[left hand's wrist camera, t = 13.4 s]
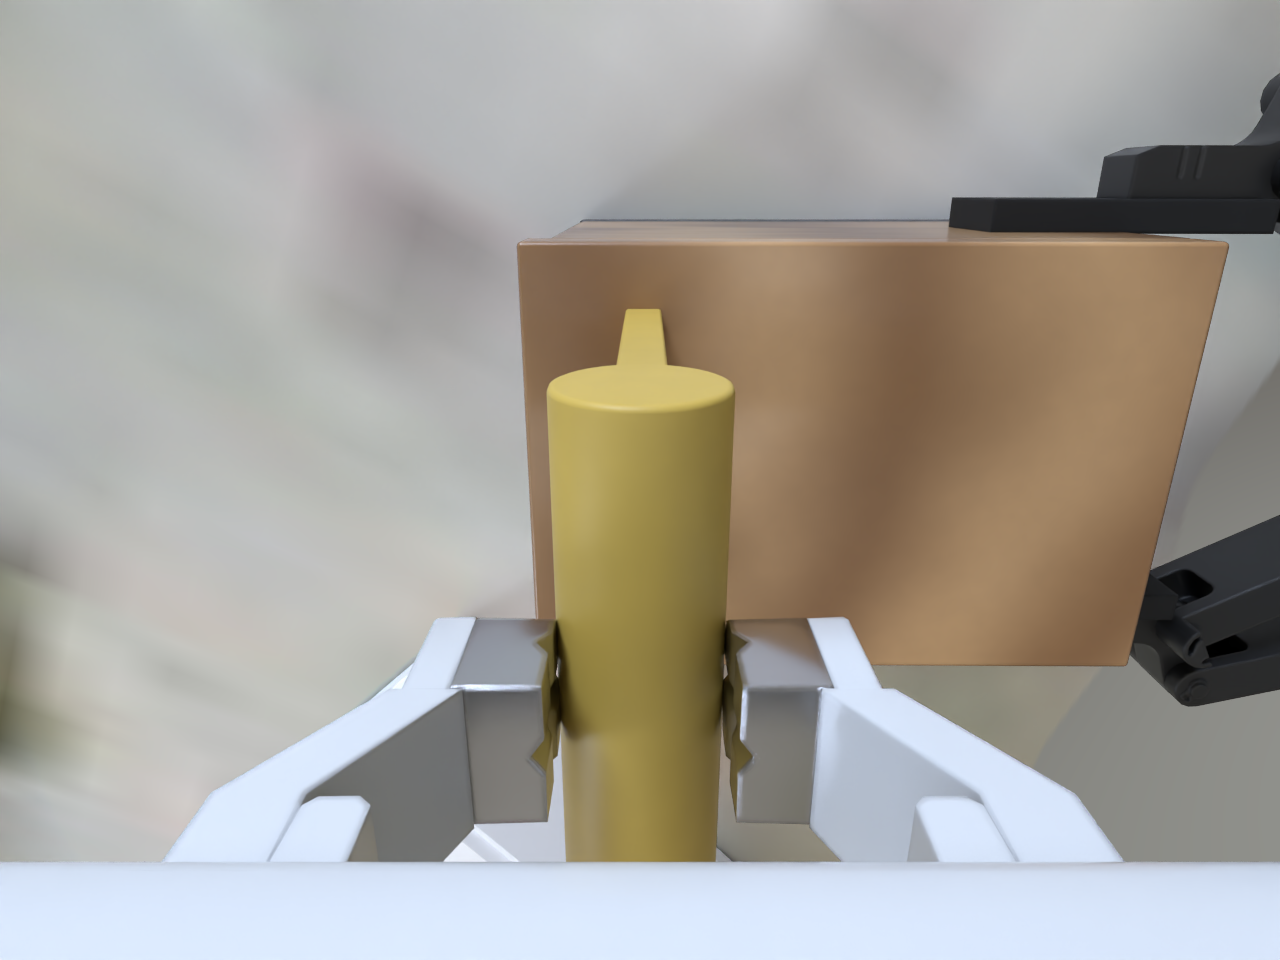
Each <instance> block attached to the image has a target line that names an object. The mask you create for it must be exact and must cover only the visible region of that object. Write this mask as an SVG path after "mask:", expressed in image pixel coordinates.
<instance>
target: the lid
mask: <svg viewBox="0 0 1280 960" xmlns="http://www.w3.org/2000/svg"><path fill="white" fill-rule="evenodd" d="M1228 249H1229V244H1228V243H1226V242H1222V241H1212V240H1201V239H526V240H524V241H521V242H519V243H518V245H517V259H518V279H519V298H520V318H521V337H522V357H523V377H524V396H525V416H526V436H527V455H528V475H529V494H530V514H531V534H532V553H533V573H534V592H535V612H536V619H557V636H558V656H559V657H558V663H557V664H558V679H559V687H560V708H561V728H560V731H561V756H562V780H563V804H564V828H565V853H566V862H716V843H717V819H718V796H719V772H720V748H721V724H722V698H723V677H724V665H726V660H725V654H724V648H725V628H726V621H727V620H738V619H779V618H827V617H845V618H846V619H848V620H849V622H850V624H851V626H852V628H853V630H854V632H855V634H856V636H857V638H858V640H859V642H860V644H861V646H862V648H863V650H864V652H865V654H866V656H867V658H868V660H869V662H870V664H871V665H944V666H1126V665H1127V663H1128V659H1129V655H1130V651H1131V647H1132V643H1133V639H1134V635H1135V630H1136V626H1137V622H1138V618H1139V614H1140V610H1141V606H1142V602H1143V598H1144V594H1145V589H1146V585H1147V581H1148V577H1149V573H1150V569H1151V565H1152V561H1153V557H1154V553H1155V548H1156V544H1157V540H1158V536H1159V532H1160V528H1161V524H1162V520H1163V516H1164V512H1165V507H1166V503H1167V499H1168V495H1169V491H1170V487H1171V483H1172V479H1173V475H1174V471H1175V466H1176V462H1177V458H1178V454H1179V450H1180V446H1181V442H1182V438H1183V434H1184V430H1185V425H1186V421H1187V417H1188V413H1189V409H1190V405H1191V401H1192V397H1193V393H1194V388H1195V384H1196V380H1197V376H1198V372H1199V368H1200V364H1201V360H1202V356H1203V352H1204V347H1205V343H1206V339H1207V335H1208V331H1209V327H1210V323H1211V319H1212V315H1213V311H1214V306H1215V302H1216V298H1217V294H1218V290H1219V286H1220V282H1221V278H1222V274H1223V270H1224V265H1225V261H1226V257H1227V253H1228Z"/></svg>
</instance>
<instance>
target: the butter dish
mask: <svg viewBox="0 0 1280 960" xmlns="http://www.w3.org/2000/svg"><path fill="white" fill-rule="evenodd" d="M413 664H414V663H413ZM413 664H412V665H411V666H410V667H408V668H407V669H406V670H405V671H404V672H402V673H401V674H400V675H399V676H398V677H397V678H395V679H394V680H393V681H392V682H391V683H389V684H388V685H387V686H386V687H385V688H384V689H382V690H381V691H380V692H379V693H378V694H376V695H375V696H374V697H373V698H375V697H376V696H378V695H380V694H381V693H383V692H385V691H387V690H388V689H402V687H403V684H404V682H405V680H406V678H407V676H408V674H409V672H410V670H411V668H412V666H413ZM373 698H372V699H373ZM553 769H554V784H553V791H552V797H551V804H550V810H549V817H548V822H536V823H500V824H474V829H473V830H472V831H471V832H470V833H469V835H468V836H467V837H466V838H465V839H464V840H463V841H462V842H461V843H460V844H459V845H458V846H457V847H456V848H455V849H454V851H453V852H452V853H451V854H450V855H449V856H448V857H447V858H446V859H445V860H444V861H443V862H566V853H565V828H564V804H563V780H562V756H561V731H560V742H559V749H558V756H557V757H556V758H555V759H553ZM716 862H732V861H731V860H730V859H729V858H728V857H727V856H726V855H724V854H723V853H722V852H721V851H720V850H719V849H718V848H717V847H716Z"/></svg>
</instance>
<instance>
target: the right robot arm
mask: <svg viewBox="0 0 1280 960" xmlns="http://www.w3.org/2000/svg"><path fill="white" fill-rule="evenodd" d="M1260 103H1261V111H1262V113H1263V116H1262V117H1261V119H1260V121H1259V123H1258V124H1257V126H1256V127H1255V129H1254V130H1253V131H1252V133H1251V134H1250V135H1249V136H1248V137H1247V138H1246V139H1244V140H1243V141H1241V142H1240V143H1238V144H1236V145H1205V146H1202V145H1186V146H1184V145H1159V146H1147V147H1135V148H1126V149H1123V150H1120V151H1118V152H1115V153H1113V154H1110V155H1108V156H1105V157H1104V161H1103V166H1102V172H1101V177H1100V182H1099V188H1098V193H1097V198H952V204H951V212H950V220H949V227H952V228H960V229H967V230H975V231H983V232H1126V233H1137V234H1273V232H1274V231H1276V232H1277V233H1279V234H1280V74H1278V75H1277V76H1275V77H1274V78H1273V79H1272V80H1270V81H1269V83H1268V84H1267V86H1266V87H1265V89H1264V90H1263V94H1262V97H1261V100H1260ZM1130 655H1131V656H1132V657H1133V658H1134V659H1135V660H1136V661H1137V662H1138V663H1139V664H1140V665H1141V666H1142V667H1143V668H1144V669H1145V670H1146V671H1147V672H1148V673H1149V674H1150V675H1151V676H1152V677H1153V678H1154V679H1155V680H1156V681H1157V682H1158V683H1159V684H1160V685H1161V686H1162V687H1164V688H1165V689H1166V690H1167V691H1168V692H1169V693H1170V694H1171V695H1172V696H1173V697H1174V698H1175V699H1176V700H1178V701H1179V702H1180V703H1181V704H1182V705H1185V706H1200V705H1205V704H1210V703H1215V702H1220V701H1225V700H1230V699H1235V698H1240V697H1245V696H1250V695H1254V694H1260V693H1264V692H1270V691H1275V690H1280V515H1279V516H1276V517H1274V518H1272V519H1269V520H1267V521H1265V522H1262V523H1260V524H1258V525H1255V526H1253V527H1251V528H1248V529H1246V530H1244V531H1241V532H1239V533H1237V534H1234V535H1232V536H1230V537H1227V538H1225V539H1222V540H1220V541H1218V542H1216V543H1213V544H1211V545H1208V546H1206V547H1204V548H1202V549H1199V550H1197V551H1194V552H1192V553H1190V554H1187V555H1185V556H1183V557H1181V558H1178V559H1176V560H1173V561H1171V562H1169V563H1166V564H1164V565H1162V566H1159V567H1157V568H1155V569H1152V570H1150V573H1149V577H1148V581H1147V585H1146V589H1145V594H1144V598H1143V602H1142V606H1141V610H1140V614H1139V618H1138V622H1137V626H1136V630H1135V635H1134V639H1133V643H1132V647H1131V651H1130Z"/></svg>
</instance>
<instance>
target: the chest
mask: <svg viewBox="0 0 1280 960" xmlns="http://www.w3.org/2000/svg"><path fill="white" fill-rule="evenodd" d="M551 239H1190V238H1181V237H1170V236H1159V235H1148V234H1137V233H1126V232H983V231H975V230H967V229H960V228H952V227H949V220H582V221H580V223H579V224H577V225H575V226H573V227H571V228H569V229H568V230H566V231H564V232H562V233H560V234H558V235H556V236H555V237H553V238H551Z"/></svg>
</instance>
